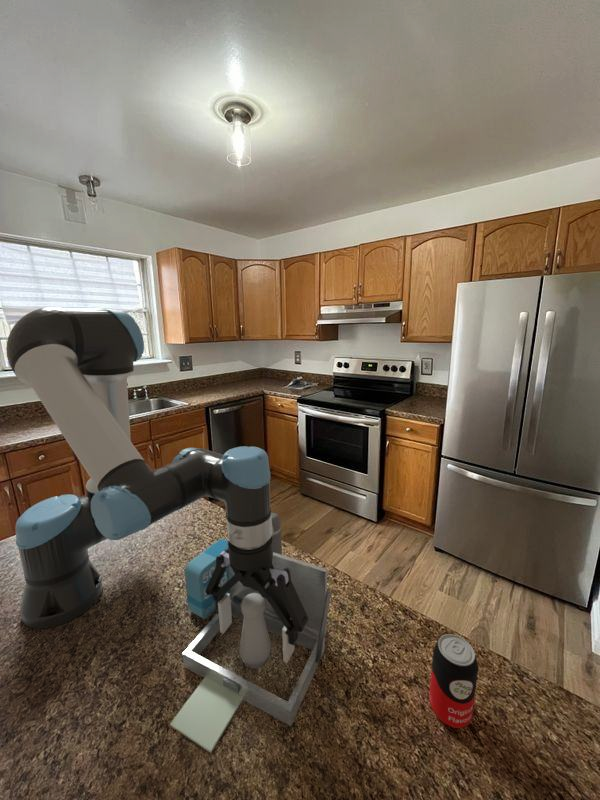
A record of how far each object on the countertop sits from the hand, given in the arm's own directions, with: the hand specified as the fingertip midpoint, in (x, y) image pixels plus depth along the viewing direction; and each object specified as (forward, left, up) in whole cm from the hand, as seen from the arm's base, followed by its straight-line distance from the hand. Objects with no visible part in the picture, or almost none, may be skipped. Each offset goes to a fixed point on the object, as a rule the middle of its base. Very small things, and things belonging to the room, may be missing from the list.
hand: (256, 640), depth 62 cm
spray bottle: (-5, +15, -4) cm, 16 cm away
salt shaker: (0, 0, -4) cm, 4 cm away
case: (0, 0, -4) cm, 4 cm away
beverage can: (+33, +6, -4) cm, 34 cm away
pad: (-2, -11, -4) cm, 12 cm away
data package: (-16, +8, -4) cm, 19 cm away
